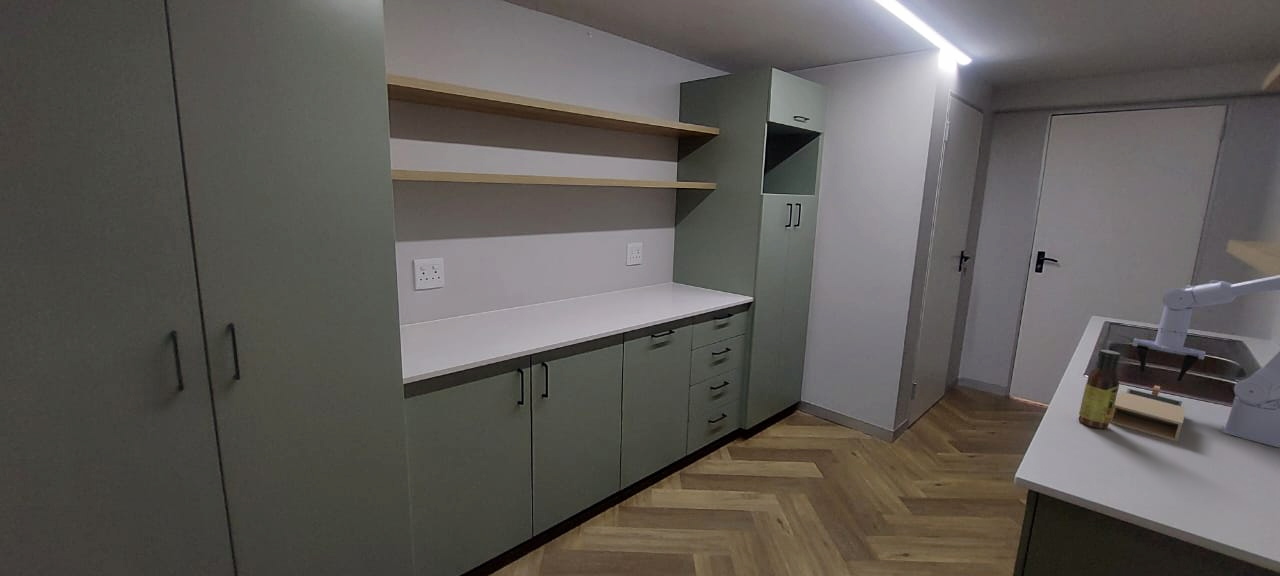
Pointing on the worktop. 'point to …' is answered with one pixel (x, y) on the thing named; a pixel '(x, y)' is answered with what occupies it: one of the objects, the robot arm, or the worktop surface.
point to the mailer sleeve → (1148, 409)
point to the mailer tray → (1155, 397)
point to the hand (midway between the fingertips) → (1160, 375)
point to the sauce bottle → (1100, 391)
